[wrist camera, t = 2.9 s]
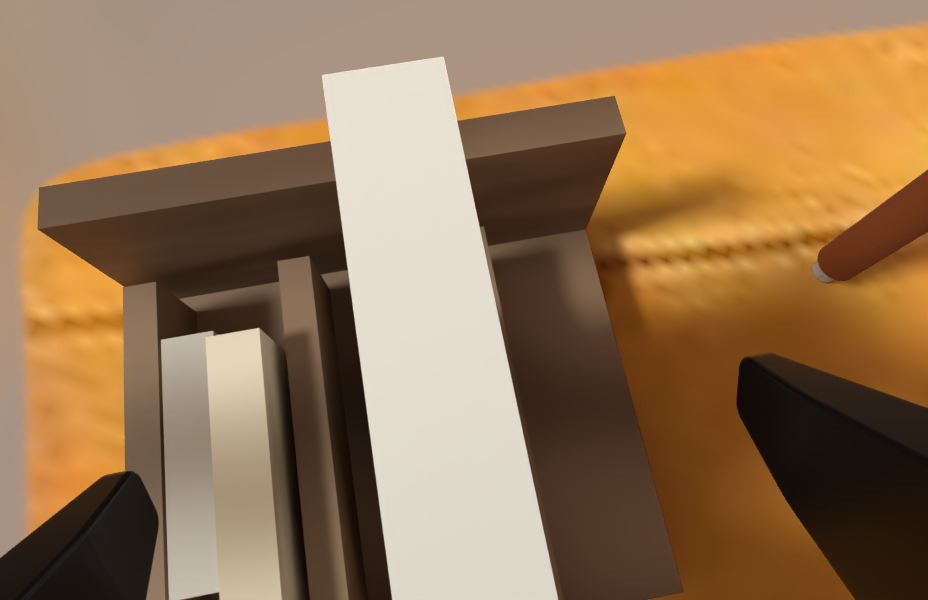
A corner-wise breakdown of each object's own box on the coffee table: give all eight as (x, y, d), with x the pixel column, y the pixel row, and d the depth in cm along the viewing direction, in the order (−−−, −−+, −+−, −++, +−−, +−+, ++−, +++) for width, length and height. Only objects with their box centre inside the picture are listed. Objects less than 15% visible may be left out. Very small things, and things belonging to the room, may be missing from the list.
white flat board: (493, 541, 16) (561, 610, 5) (446, 550, 16) (397, 644, 5) (458, 352, 18) (443, 56, 6) (415, 360, 17) (321, 75, 6)
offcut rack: (665, 585, 17) (778, 626, 11) (186, 683, 16) (18, 786, 10) (569, 221, 20) (614, 96, 14) (172, 289, 20) (39, 187, 14)
